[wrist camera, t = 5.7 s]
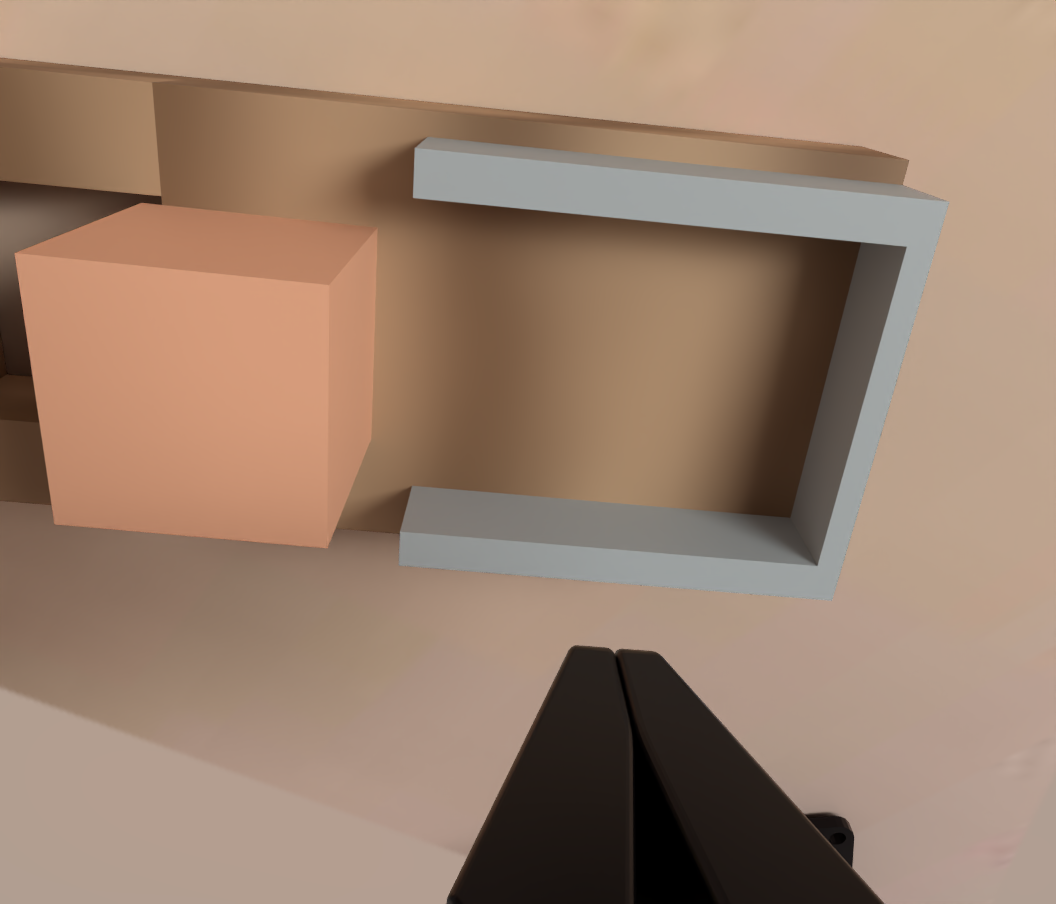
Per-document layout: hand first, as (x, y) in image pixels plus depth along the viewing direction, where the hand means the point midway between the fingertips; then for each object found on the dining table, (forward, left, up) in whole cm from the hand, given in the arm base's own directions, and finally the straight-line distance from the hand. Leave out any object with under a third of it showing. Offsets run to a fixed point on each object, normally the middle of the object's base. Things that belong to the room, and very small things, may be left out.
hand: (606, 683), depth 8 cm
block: (+1, +6, -10) cm, 12 cm away
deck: (+1, +4, -13) cm, 13 cm away
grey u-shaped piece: (-1, -1, -10) cm, 10 cm away
